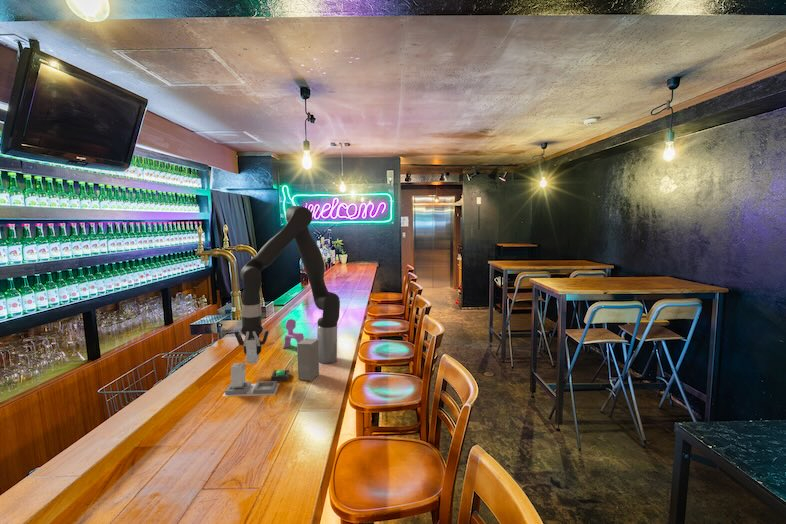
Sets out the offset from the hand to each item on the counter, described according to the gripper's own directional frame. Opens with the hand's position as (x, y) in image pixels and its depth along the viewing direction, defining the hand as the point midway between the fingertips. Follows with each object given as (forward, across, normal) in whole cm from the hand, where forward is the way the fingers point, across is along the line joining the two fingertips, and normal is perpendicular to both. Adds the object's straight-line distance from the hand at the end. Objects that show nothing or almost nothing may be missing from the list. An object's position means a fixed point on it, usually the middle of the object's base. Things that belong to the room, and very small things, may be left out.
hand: (252, 353), depth 153 cm
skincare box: (+11, +23, 0) cm, 25 cm away
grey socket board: (+10, +3, -13) cm, 17 cm away
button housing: (+10, +12, -3) cm, 16 cm away
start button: (+10, +12, -3) cm, 15 cm away
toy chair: (+11, +12, +35) cm, 38 cm away
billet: (+3, 0, 0) cm, 3 cm away
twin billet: (+9, -2, -13) cm, 16 cm away
